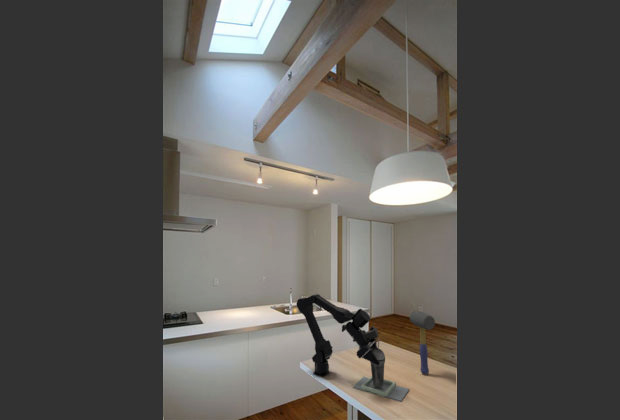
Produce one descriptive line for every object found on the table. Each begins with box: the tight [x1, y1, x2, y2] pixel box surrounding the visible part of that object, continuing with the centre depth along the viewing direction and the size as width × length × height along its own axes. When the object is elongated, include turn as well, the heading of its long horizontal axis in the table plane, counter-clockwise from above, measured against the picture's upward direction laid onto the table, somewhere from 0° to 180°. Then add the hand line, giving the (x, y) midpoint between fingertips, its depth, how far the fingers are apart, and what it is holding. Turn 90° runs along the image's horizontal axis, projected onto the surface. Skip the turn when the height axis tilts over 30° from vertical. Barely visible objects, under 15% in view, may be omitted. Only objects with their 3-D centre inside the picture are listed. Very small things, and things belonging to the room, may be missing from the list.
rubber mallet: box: [409, 310, 436, 376], centre depth 147 cm, size 12×8×30 cm, turn 16°
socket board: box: [352, 375, 410, 403], centre depth 130 cm, size 22×12×2 cm, turn 56°
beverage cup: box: [369, 337, 386, 387], centre depth 132 cm, size 7×7×20 cm
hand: (380, 361), depth 131 cm, fingers closed on beverage cup, 7 cm apart
